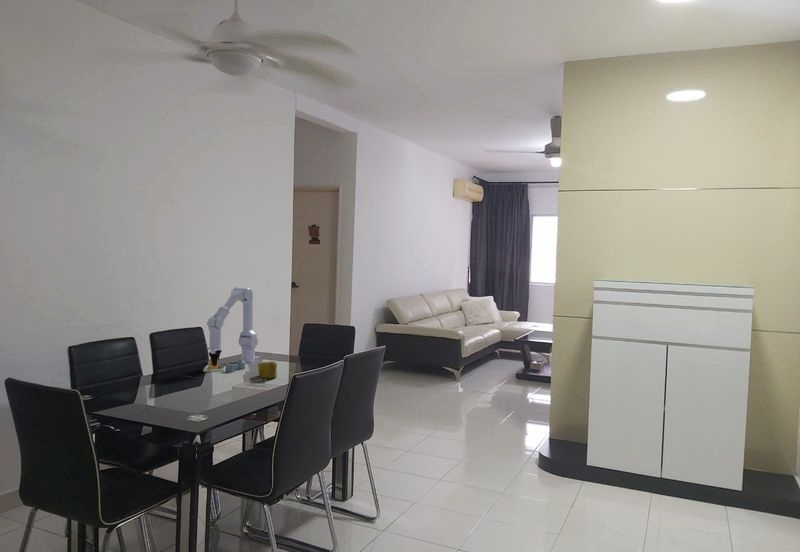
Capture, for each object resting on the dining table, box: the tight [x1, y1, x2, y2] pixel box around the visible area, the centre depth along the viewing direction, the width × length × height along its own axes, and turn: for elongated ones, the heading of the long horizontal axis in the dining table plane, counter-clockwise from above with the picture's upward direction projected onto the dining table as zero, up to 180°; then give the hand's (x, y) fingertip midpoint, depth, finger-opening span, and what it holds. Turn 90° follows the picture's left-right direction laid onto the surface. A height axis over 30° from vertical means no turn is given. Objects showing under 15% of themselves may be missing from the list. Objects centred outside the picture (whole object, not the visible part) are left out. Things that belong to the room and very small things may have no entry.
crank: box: [224, 359, 246, 373], centre depth 319 cm, size 12×5×4 cm, turn 158°
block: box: [208, 358, 220, 369], centre depth 319 cm, size 4×4×5 cm
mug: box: [257, 361, 278, 380], centre depth 306 cm, size 12×10×10 cm
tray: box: [202, 364, 225, 372], centre depth 320 cm, size 11×11×2 cm
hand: (215, 364), depth 319 cm, fingers closed on block, 4 cm apart
